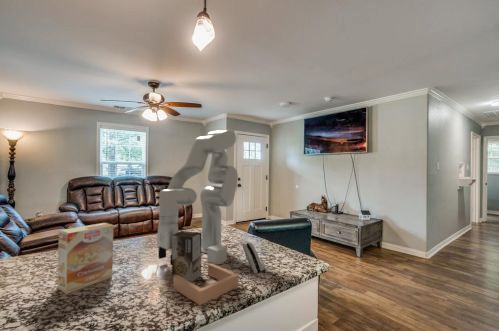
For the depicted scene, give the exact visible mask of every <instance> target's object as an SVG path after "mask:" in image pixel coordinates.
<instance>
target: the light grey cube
mask: <svg viewBox="0 0 499 331" xmlns="http://www.w3.org/2000/svg"><path fill="white" fill-rule="evenodd" d="M206 254H207V255H206V256H207V258H206V259H207V262H208V263H212V264H214V265H217V266H218V265H219V264H222V263H225V262H227V261H228V260H227V259H228V258H227V257H228V256H227V255H228V247H227V246H224V245H223V246H221V245H215V246H211V247H208V248H207V253H206Z"/></svg>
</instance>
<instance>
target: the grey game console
mask: <svg viewBox="0 0 499 331" xmlns="http://www.w3.org/2000/svg"><path fill="white" fill-rule="evenodd" d="M242 248H243V251H244V255H245V258H246V260H247V262H248V264H249V266H250V267H251V269H252V271H253V273H254V274H258V272H262V271H264V272H265V273H268V270H267V267H266V266H265V265H264V263H263V262H262V260H261V259H260V256H259V254H258V251H257V250H256V248H255V246H254V245H253V243H252V242H251V241H250V242H247V243H243V244H242Z"/></svg>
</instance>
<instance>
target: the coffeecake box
mask: <svg viewBox="0 0 499 331" xmlns="http://www.w3.org/2000/svg"><path fill="white" fill-rule="evenodd" d="M57 251H58V252H57V253H58V254H57V255H58V257H57V263H58V264H57V289H58V290H60V291H61V292H63V293H64V294H65V295H68V294H70V293H73V292H76V291H79V290H81V289H84V288H86V287H87V288H88V287H89V286H92V285H95V284H97V283H100V282H103V281H106V280H108V279H111V278H113V264H114V261H113V260H114V259H113V257H114V256H113V255H114V252H113V251H114V224H111V223H108V222H101V223H95V224H90V225H84V226H78V227H72V228H66V229H59V230H58V250H57Z"/></svg>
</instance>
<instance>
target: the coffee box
mask: <svg viewBox="0 0 499 331" xmlns="http://www.w3.org/2000/svg"><path fill="white" fill-rule="evenodd" d="M201 238H202V232H197V231H187V230H186V231H185V230H181V231H179V232H178V233H176V234H174V235H172V254H171V255H172V265H171V279H173V280H174V276H176V275H179V276H180V277H182V278H184V279H186V280H188V281H189V282H191V283H193V282H194V281H195V280H197V279H198V278H199V277H201V276H202V252H201Z"/></svg>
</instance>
